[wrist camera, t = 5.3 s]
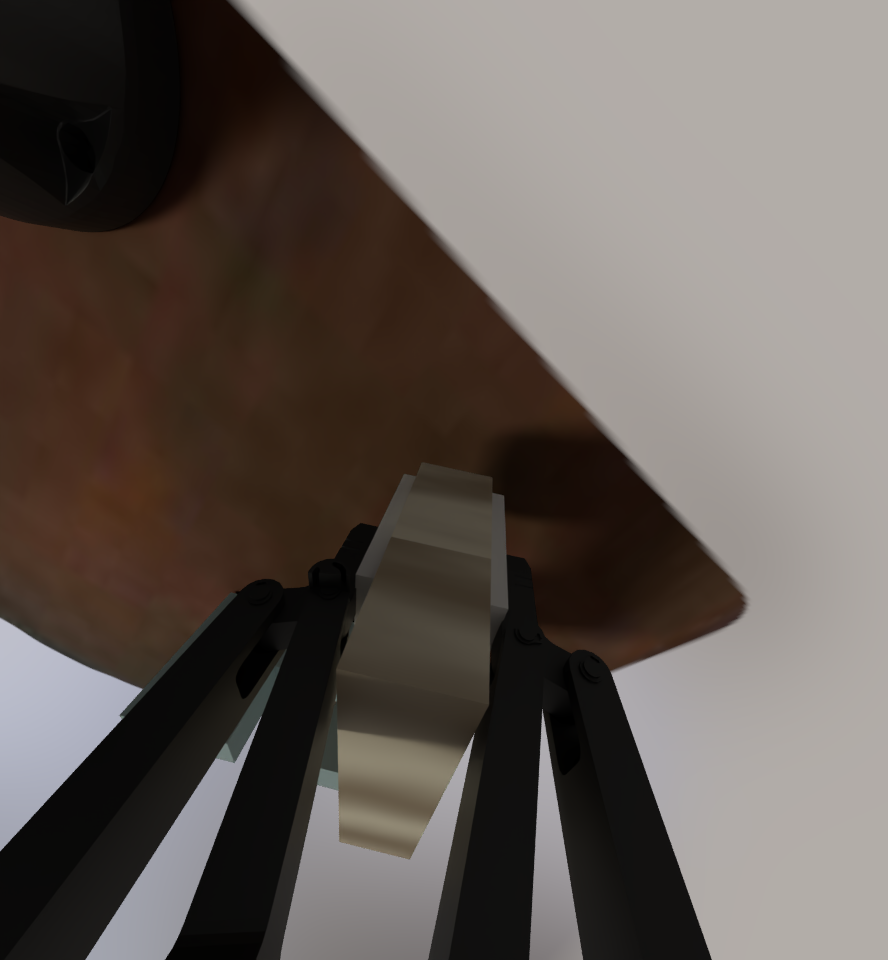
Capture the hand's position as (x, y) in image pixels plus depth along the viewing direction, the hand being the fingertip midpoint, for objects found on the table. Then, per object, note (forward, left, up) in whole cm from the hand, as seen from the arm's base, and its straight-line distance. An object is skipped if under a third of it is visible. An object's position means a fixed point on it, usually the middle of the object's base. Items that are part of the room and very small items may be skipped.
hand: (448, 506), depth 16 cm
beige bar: (+6, 0, 0) cm, 6 cm away
